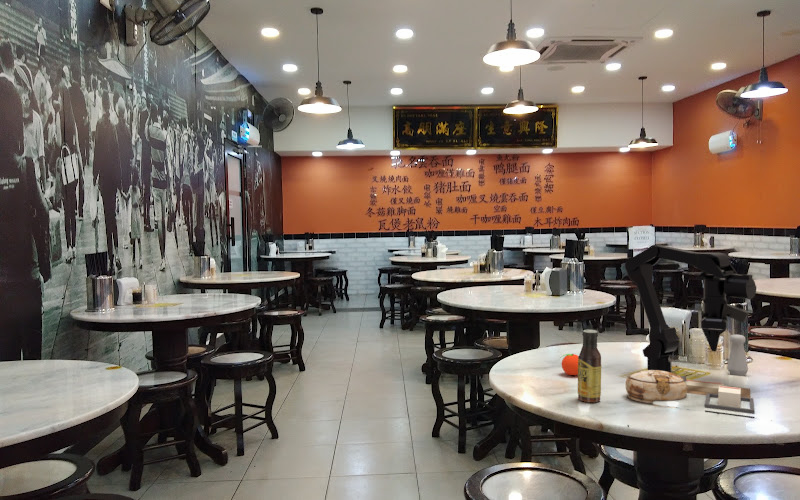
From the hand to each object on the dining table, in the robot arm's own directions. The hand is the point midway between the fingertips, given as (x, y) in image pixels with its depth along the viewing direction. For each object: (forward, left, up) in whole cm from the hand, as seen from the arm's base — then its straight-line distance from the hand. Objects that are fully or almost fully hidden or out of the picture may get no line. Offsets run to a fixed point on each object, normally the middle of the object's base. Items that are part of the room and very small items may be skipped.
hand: (714, 348), depth 168 cm
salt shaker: (+6, +18, -12) cm, 23 cm away
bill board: (0, -7, -12) cm, 14 cm away
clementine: (-41, -4, -12) cm, 43 cm away
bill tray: (+4, -19, -12) cm, 23 cm away
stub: (+4, -19, -11) cm, 23 cm away
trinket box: (-14, -18, -12) cm, 26 cm away
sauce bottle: (-30, -28, -12) cm, 43 cm away
